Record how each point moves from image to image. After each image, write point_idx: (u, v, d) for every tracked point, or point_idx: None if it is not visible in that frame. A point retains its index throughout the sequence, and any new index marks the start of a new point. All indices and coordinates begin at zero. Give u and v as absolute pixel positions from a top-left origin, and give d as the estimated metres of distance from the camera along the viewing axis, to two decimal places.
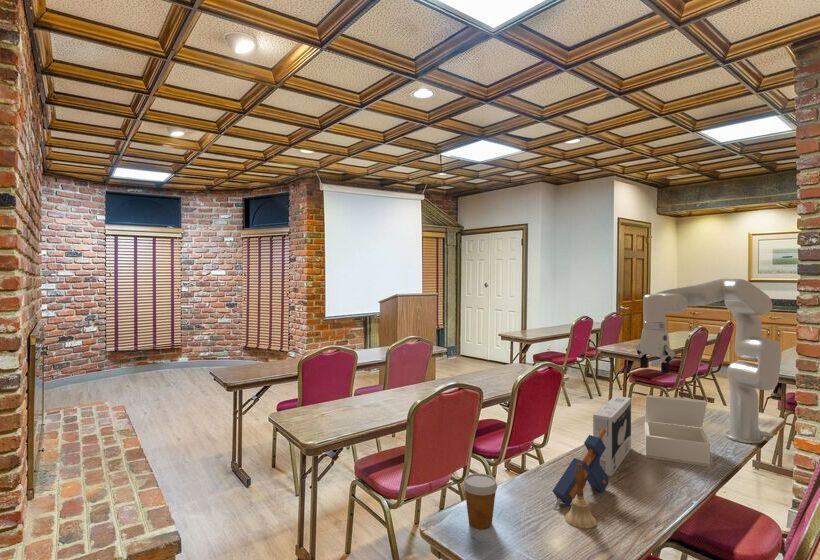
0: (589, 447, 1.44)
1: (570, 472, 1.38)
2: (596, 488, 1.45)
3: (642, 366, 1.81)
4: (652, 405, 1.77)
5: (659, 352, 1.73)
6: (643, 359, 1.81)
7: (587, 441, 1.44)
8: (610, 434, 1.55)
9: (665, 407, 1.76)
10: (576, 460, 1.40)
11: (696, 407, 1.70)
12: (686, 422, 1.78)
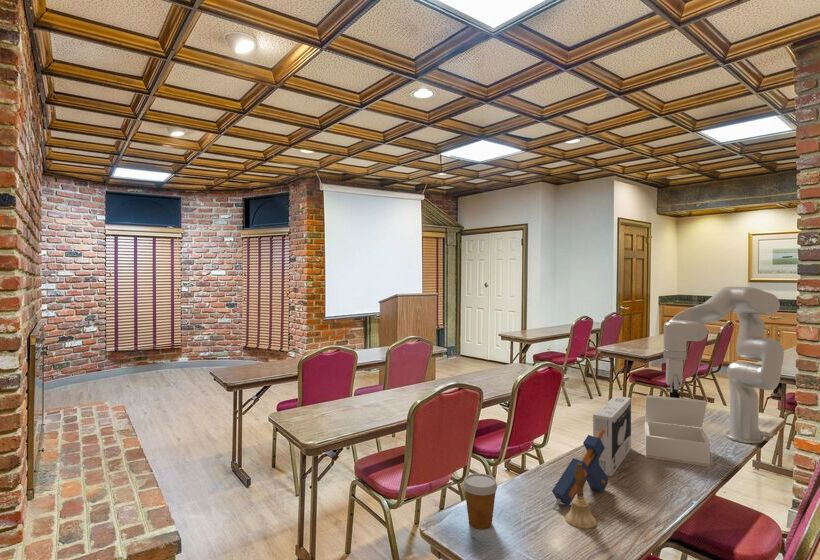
0: (588, 447, 1.44)
1: (569, 472, 1.38)
2: (595, 488, 1.45)
3: None
4: (652, 405, 1.77)
5: None
6: None
7: (586, 441, 1.44)
8: (610, 434, 1.55)
9: (665, 407, 1.76)
10: (575, 460, 1.40)
11: (696, 407, 1.70)
12: (686, 422, 1.78)
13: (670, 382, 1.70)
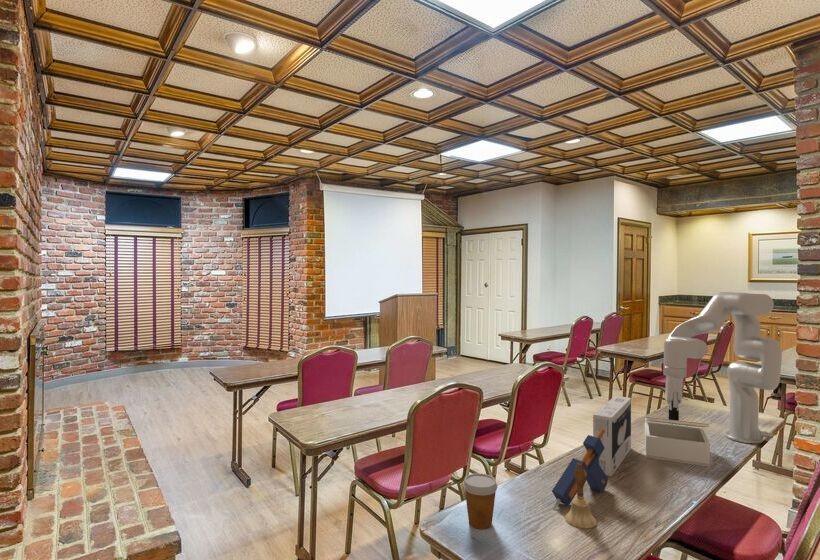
0: (588, 447, 1.44)
1: (569, 472, 1.38)
2: (595, 488, 1.45)
3: None
4: None
5: None
6: None
7: (586, 441, 1.44)
8: (610, 434, 1.55)
9: (666, 422, 1.73)
10: (575, 460, 1.40)
11: None
12: None
13: (669, 399, 1.68)
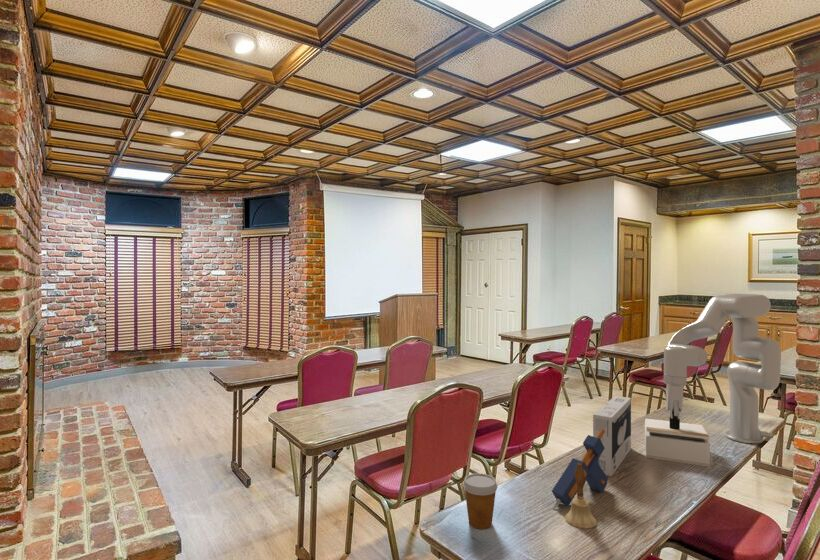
0: (588, 447, 1.43)
1: (569, 472, 1.38)
2: (595, 488, 1.45)
3: None
4: None
5: None
6: None
7: (586, 441, 1.44)
8: (610, 434, 1.55)
9: None
10: (575, 460, 1.40)
11: None
12: None
13: (670, 408, 1.68)
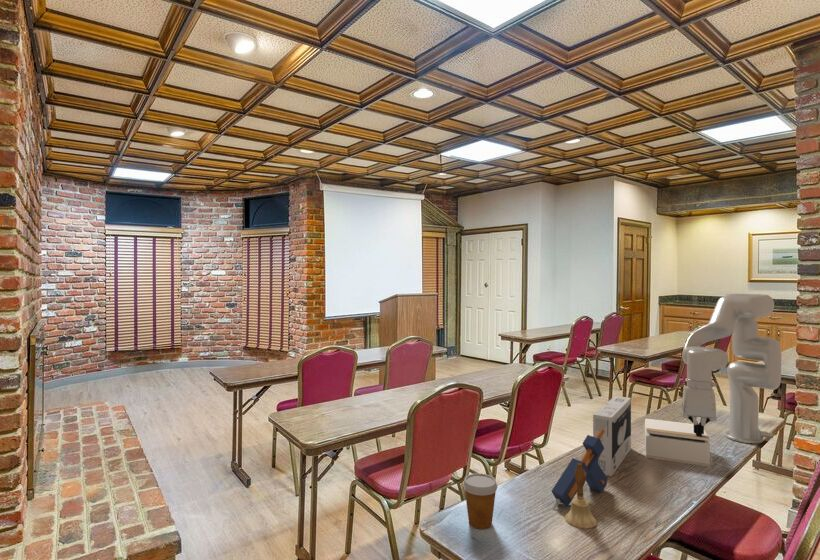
0: (588, 447, 1.43)
1: (569, 472, 1.38)
2: (594, 488, 1.45)
3: None
4: None
5: (713, 413, 1.61)
6: None
7: (586, 441, 1.44)
8: (610, 434, 1.55)
9: None
10: (575, 460, 1.40)
11: None
12: None
13: (682, 408, 1.68)
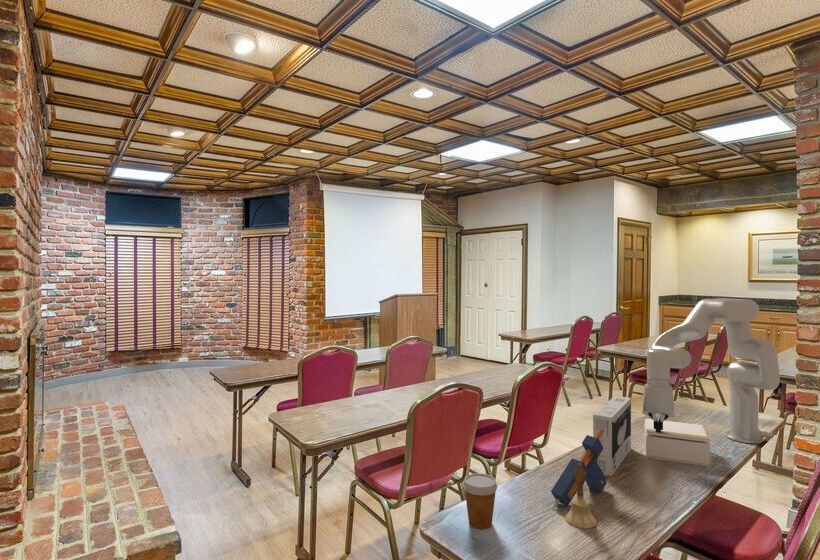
0: (587, 447, 1.43)
1: (568, 472, 1.38)
2: (593, 488, 1.44)
3: (658, 430, 1.69)
4: None
5: (671, 410, 1.66)
6: (658, 422, 1.69)
7: (585, 441, 1.44)
8: (610, 434, 1.55)
9: None
10: (574, 460, 1.40)
11: None
12: None
13: None
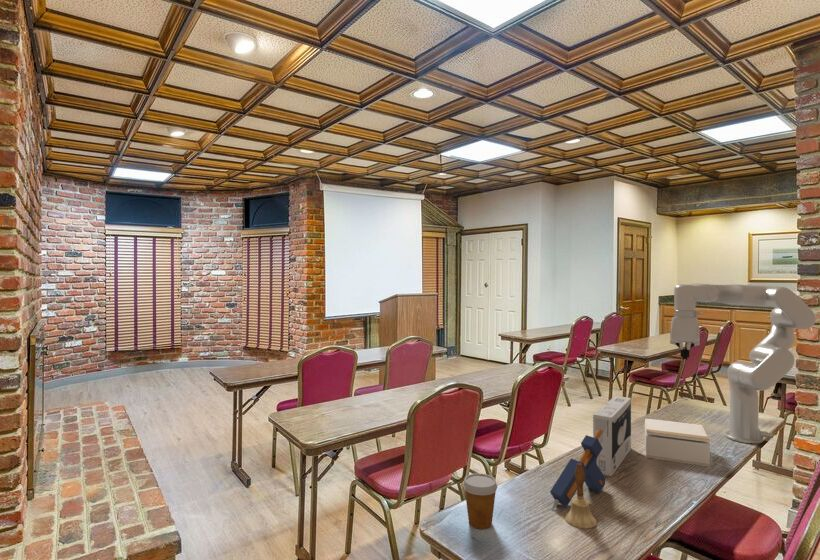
0: (586, 447, 1.43)
1: (567, 472, 1.38)
2: (592, 488, 1.44)
3: None
4: None
5: (697, 338, 1.85)
6: None
7: (584, 441, 1.44)
8: (610, 434, 1.55)
9: None
10: (573, 461, 1.40)
11: None
12: None
13: (670, 336, 1.92)
